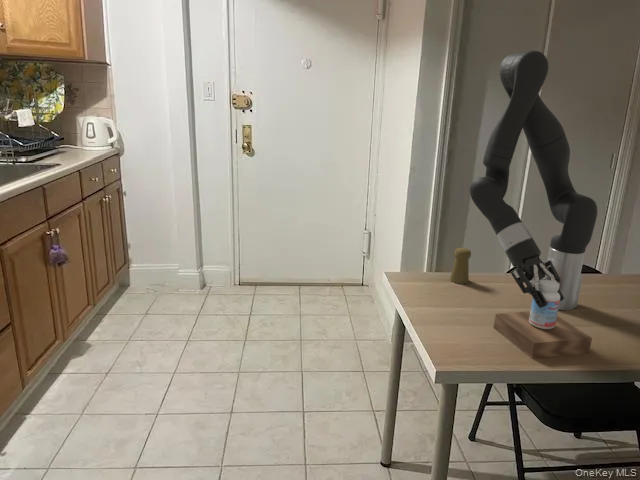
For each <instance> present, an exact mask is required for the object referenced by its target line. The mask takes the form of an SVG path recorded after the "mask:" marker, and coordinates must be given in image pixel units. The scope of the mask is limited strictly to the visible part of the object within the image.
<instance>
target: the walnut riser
mask: <svg viewBox="0 0 640 480" xmlns="http://www.w3.org/2000/svg"><path fill="white" fill-rule="evenodd" d="M530 311H531V310H530ZM530 311H518V312H517V311H516V312H515V311H514V312H504V313H503V312H501V313H500V312H499V313H495V317H494V323H493V329H495V330H496V331H497V332H498V333H499V334H501V335H502V336H503V337H505V339H507V340H508V341H509V342H511V344H513V345H515V346H516V347H517V349H519V350H521V351H522V352H523V353H524V354H525V355H527V356H528V357H529V358H530V359H538V358H548V357H559V356H568V355H569V356H571V355H578V354H579V355H581V354H589V353H590V350H591V345H592V342H593V337H592V336H590V335H588V333H585V332H584V331H582V330H580V329H579V328H577V327H576V326H574V325H573V324H571V323H570V322H568V321H566V320H565V319H563V318H562V317H560V316H558V315H557V318H556V323H555V327H554V328H552V329H541V328H538V327H535V326H533V325H531V324H530V322H529V316H530Z"/></svg>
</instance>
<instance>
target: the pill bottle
mask: <svg viewBox="0 0 640 480" xmlns="http://www.w3.org/2000/svg"><path fill="white" fill-rule="evenodd" d="M538 286H539V291H541V293H542V294H543V296H544V298H545V300H546V301H547V303H548V304H547V305H546V306H544V307H542V308H539V306H538V305H537V304H536V302H535V300H534V298H533V297H532V302H531V306H530V316H529V322H530V324H531V325H533V326H535V327H538V328H541V329H552V328H554V327H555V323H556V318H557V316H558V312H559V310H558V308H559V303H560V294H559V293H558V292H557V291H558V290H559V283H557V282H555V281H551V280H540V281H539V282H538Z"/></svg>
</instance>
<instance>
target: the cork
mask: <svg viewBox="0 0 640 480" xmlns="http://www.w3.org/2000/svg"><path fill="white" fill-rule="evenodd" d="M453 252H454V254H453V255H454V257H455V258H454V262H453V266H452V270H451V273H450V277H449V281H450V280H451V281H452V283H453V282H456V283H455V284H457V283H460V284H459V285H464V284H463V283H467V284H469V282H468V281H470V280H469V278H470V277H469V276H470V275H469V268H470V267H469V262H470V261H469V260H470V258H471V257H472V252H471V250H470V249H468V248H466V247H457V248H456V249H455V250H454V251H453Z"/></svg>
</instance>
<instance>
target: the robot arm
mask: <svg viewBox="0 0 640 480" xmlns="http://www.w3.org/2000/svg"><path fill="white" fill-rule="evenodd" d="M548 72H549V61H548V58H547V56H546V55H545V54H544V53H543V52H541V51H540V50H539V51H538V50H527V51H519V52H514V53H510V54H508V55H507V56H506V57H504V59H503V60H502V61H501V64H500V65H499V77H500V82H501V83H502V86H503V88H504V90H505V92H506V93H507V96H508V98H509V102H508V104H507V107H506V108H505V110H504V112H503V114H502V115H501V117H500V118H499V120H498V121H497V123H496V124H495V126H494V128H493V130H492V131H491V133H490V136H489V139H488V142H487V144H486V149H485V152H484V155H483V159H482V162H483V166H485V176H481V177H477V178H475V179H474V180H472V182H471V183H470V187H469V194H470V198H471V200H472V202H473V204H474V205H475V206H476V208H477V209H478V210H479V211H480V213H481V214H482V215H483V216H484V217H485V218H486V219H487V221H488V222H489V224H490V226H491V227H492V229H493V231H494V233H495V235H496V237H497V239H498V241H499V244H500V245H501V247H502V249H503V251H504V253H505V255H506V256H507V258H508V260H509V261H510V263H511V265H512V266H513V267H515V268H516V269H515V270H514V271H511V273H510V274H511V277H512V278H513V279H514V281H515V283H516V284H517V286H518V287H519V288H520V291H522V293H523V294H524V295H525V294H528V295H531V296H532V299H533V298H534V300H535V302H536V304H537V305H538V306H539V308H542V307H544V306H546V305H547V304H548V303H547V301H546V300H545V298H544V296H543V294H542V293H541V291H539V286H538V285H539V281H540V280H551V281H555V282H557V283H559V290H558V291H557V292H558V293H559V294H560V303H559V308H558V311H571V310H573V309H574V308H577V306H578V302H579V299H580V298H579V297H580V293H581V289H582V288H581V287H582V283H583V279H584V278H583V276H582V275H581V273H582V270H583V269H582V268H583V264H584V259H585V253H586V249H587V247H588V245H589V244H590V243H591V241H592V237H593V233H594V229H595V225H596V221H597V217H598V206H597V203H596V201H595V200H594V199H593V198H592V197H589V196H586V195H583V194H580V193H578V192H577V191H576V190H575V187H574V185H573V183H572V181H571V178H570V175H569V165H570V159H571V158H570V157H571V148H570V144H569V141H568V139H567V138H568V137H567V135H566V131H565V129H564V127H563V125H562V124H561V122H560V121H559V120H558V118H557V117H556V115H554V113H553V112H552V111H551V109H549V108H548V106H547V105H546V104H545V102H544V100H542V98H541V96H540V94H539V93H540V91H541V89H542V87H543V86H544V83H545V81H546V79H547V76H548ZM522 130H523V132H524V135H525V139H526V141H527V144H528V146H529V150H530V152H531V155H532V157H533V160H534V163H535V164H536V167H537V169H538V172H539V175H540V178H541V179H542V182H543V185H544V189H545V192H546V193H545V194H546V195H547V196H546V197H547V201H548V205H549V209H550V212H551V215H552V216H553V218H554V219H555V220H557V221H558V222H559V223H561V224H563V226H562V229H561V233H560V234H559V235H554V236H552V238H551V239H550V244H549V249H548V253H547V261H544V262H543V260H542V259H541V258H540V256H541V254H542V251H541V250H540V248H539V247H538V244H537V243H536V241H535V239H534V238H533V236H532V235H531V232H530V231H529V230H528V228H527V227H526V226H525V224H524V223H523V221H522V220H521V218H520V217H519V215H518V213H517V212H516V210H515V209H514V207H512V206H511V205H509V204H508V203H507V202H506V201H505V200H504V198H505V196H506V194H507V192H508V187H509V178H510V167H511V166H510V165H511V163H512V160H513V157H514V154H515V151H516V148H517V145H518V142H519V137H520V136H521V133H522ZM525 286H526V287H525Z"/></svg>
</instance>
